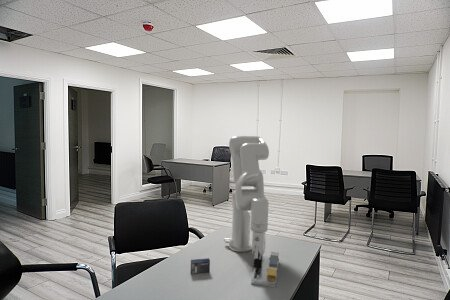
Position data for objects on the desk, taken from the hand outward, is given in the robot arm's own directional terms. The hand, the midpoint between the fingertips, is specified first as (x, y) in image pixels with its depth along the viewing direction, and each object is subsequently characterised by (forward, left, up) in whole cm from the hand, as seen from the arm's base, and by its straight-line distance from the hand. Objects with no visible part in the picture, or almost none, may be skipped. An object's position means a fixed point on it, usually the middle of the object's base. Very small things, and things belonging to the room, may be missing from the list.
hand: (257, 267), depth 131 cm
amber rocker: (+7, -3, 0) cm, 7 cm away
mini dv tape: (-24, -6, -4) cm, 25 cm away
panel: (+4, +3, -3) cm, 6 cm away
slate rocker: (+7, +10, 0) cm, 12 cm away
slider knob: (0, +4, -1) cm, 4 cm away
